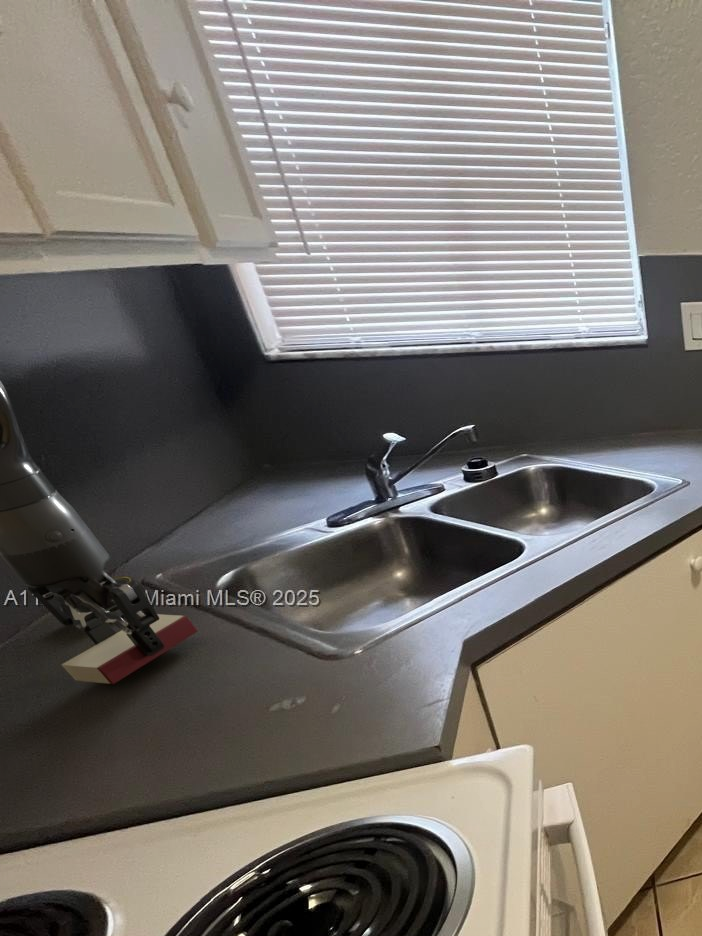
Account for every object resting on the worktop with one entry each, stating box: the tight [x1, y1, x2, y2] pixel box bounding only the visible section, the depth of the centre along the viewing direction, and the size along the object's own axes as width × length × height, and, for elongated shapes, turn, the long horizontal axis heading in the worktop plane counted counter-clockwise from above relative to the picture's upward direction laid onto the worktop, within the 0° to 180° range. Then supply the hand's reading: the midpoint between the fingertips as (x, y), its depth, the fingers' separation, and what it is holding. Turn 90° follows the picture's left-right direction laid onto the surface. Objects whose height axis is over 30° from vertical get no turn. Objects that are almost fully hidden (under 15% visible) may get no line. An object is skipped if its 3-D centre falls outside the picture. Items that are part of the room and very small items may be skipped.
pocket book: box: [61, 613, 198, 685], centre depth 82 cm, size 11×6×3 cm, turn 170°
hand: (134, 650), depth 82 cm, fingers closed on pocket book, 6 cm apart
